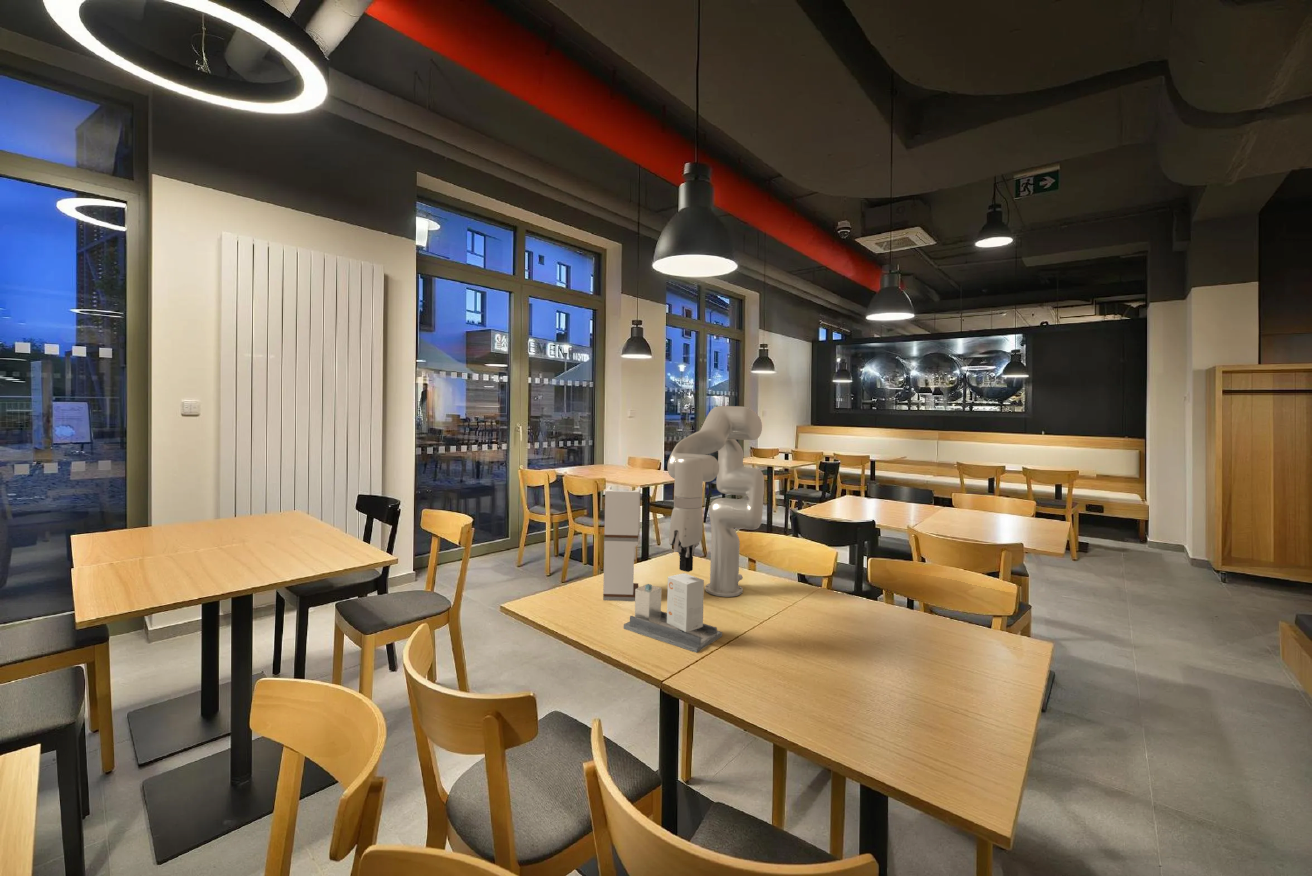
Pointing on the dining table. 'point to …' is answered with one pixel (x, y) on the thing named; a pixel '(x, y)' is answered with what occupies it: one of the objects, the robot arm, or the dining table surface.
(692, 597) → the small box
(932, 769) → the dining table surface
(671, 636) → the rail board
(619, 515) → the tall banded cabinet
